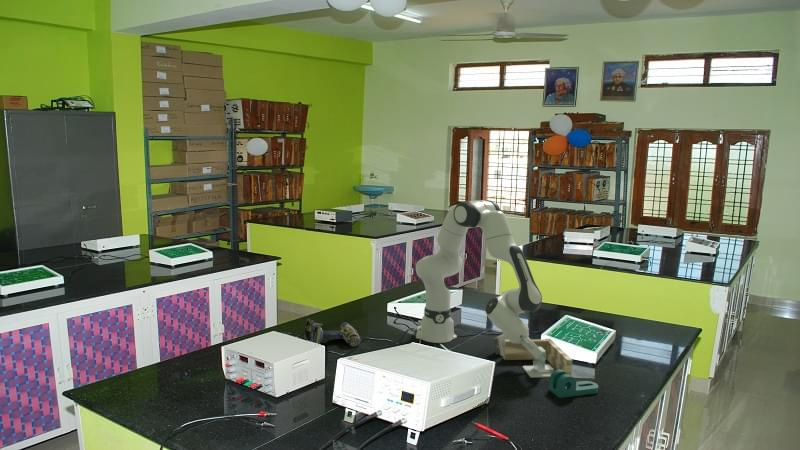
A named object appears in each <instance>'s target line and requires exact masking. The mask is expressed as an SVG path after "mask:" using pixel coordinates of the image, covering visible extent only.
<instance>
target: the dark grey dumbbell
mask: <svg viewBox="0 0 800 450" xmlns="http://www.w3.org/2000/svg"><path fill="white" fill-rule="evenodd" d="M321 326H323V324H322V323H317V322H315V321H314V320H312V319H310V318H307V319H306V322H305V325H304V328H303V330H304V333H303V334H304V340H305V339H306V340H309V341H312V342H315V343H319V344H321V342H322V340H324V339H325V340H340V339H341V340H344V341H345V342H346V343H347V344H348V345H349V347H354V348H355V347H357V346H358V345H360V343H361V337H360V335H359V333H358V330H357V329H355V328H354V327H353V326H352V325H350V324H349V323H348V322H346V321H345V322H342V323H341V324H340V330H323V329H322V327H321ZM306 340H305V341H306Z"/></svg>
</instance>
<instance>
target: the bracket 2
mask: <svg viewBox="0 0 800 450" xmlns="http://www.w3.org/2000/svg"><path fill="white" fill-rule="evenodd" d="M576 380H577V379H575V378H574V377H573V376H572V375H571V376H570V375H568V374H567V373H566V372H564V371H563V370H560V369H558V370H556V369H554V372H553V373H552V374H551V376H550V377H549V385H548V391H550V392H551V393H552V394H553V395H555V396H556V397H558V399H560V398H561V399H562V398H570V397H576V396H577V397H578V396H579V397H580V396H586V395H595V394H598V393H599V384H598V383H596V382H594V381H590V380H581V381H576Z"/></svg>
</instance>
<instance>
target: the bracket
mask: <svg viewBox="0 0 800 450" xmlns="http://www.w3.org/2000/svg"><path fill="white" fill-rule="evenodd" d="M538 348H539V349H540V350H541V351H542V352H543V356H544V358H546V351H545V350H544V349H543V348H542V347H538ZM532 366H533V369H534V370H535V372H536V373H553V372H554V371H555V368H554V367H553V366H552V365H551V364H550V363H549V364H546V360H545V361H544V362H542V361H541V360H540V359H539V358H538V359H536V358H534V357H533V360H532Z"/></svg>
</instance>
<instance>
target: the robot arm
mask: <svg viewBox="0 0 800 450" xmlns="http://www.w3.org/2000/svg"><path fill="white" fill-rule="evenodd" d="M469 228H480V229H481V230H482V232H483V235H484V241H485V246H486V249H487V252H488V253H489V255H490V256H491V257H493V258H494V259H496V260H499V261H503V262H506V263H508V264H509V265H511V267H512V269H513V271H514V274H515V278H516V280H517V282H518V287H517V288H511V289H508V290H505V291H503V292H502V293H501V294H500V295H499V296H496V297H493V298H491V299H490V300H489V301H488V302H487V304H486V305H485V309H484V310H485V314H486V316H487V317H488V319H489V321H490V322H491V323H493V325H494V326H495V327H496V328H497V329H500V330H501V333H502V334H504V335H505V336H506V337H507V338H508V339H509V340H510V341H511V342H512V343H517V344H522V345H523V346H524V347H525V348H526V349H527V350H528V351H529V352H530V353H531V354H532V355H533V357H534V358H536V359H538V358H539V359H540V360H541V361H542V362H544V361H545V362H546V360H547V359H545V358H544V356H543V352H542V351H541V350H540V349H539V348H538V347H537V346H536V345H535V343H534V342H533V341H532V340H533V339H531V338H530V337H529V336H530V332H529V331H530V330H529V326H527V323H525V322H524V321H523V320H522V319H521V318H520V317H519V315H520V314H522V313H523V314H524V313H534V312H537V311H538V310H539V309H540V307H541V305H542V301H543V297H542V293H541V291H540V289H539V287H538V285H537V283H536V281H535V279H534V276H533V274H532V271H531V269H530V266H529V263H528V261H527V258H526V256H525V254H524V251H523V250H522V249H521V247H519V246H518V245H517V243H516V241H515V239H514V237H513V231H512V228H511V225H510V222H509V220H508V218H507V216H506V214H505V213H504V212H503V211H501V208H500V206H499V204H498V203H497V202H495V201H494V200H489V199H487V200H483V199H475V200H465V201H461V202H459V203H457V204H455V205H453V206H451V208H450V209H449V210H448V212H447V214H446V216H445V217H444V219H443V222H442V224H441V227H440V229H439V233H438V235H437V237H436V241H437V244H438V245H439V251H438V252H437V253H436V254H431V255H426V256H424V257H423V258H421V259H419V260H418V261H417V262H416V264H415V272H416V275H417V277H418V278H419V279H420V280H421V281H422V282H423V285H424V290H425V307H424V310H423V316H422V319H421V320H418V323H417V324H418V326H417V327H416V328H417V329H416V334H415V339H418V340H423V341H424V342H426V343H427V342H428V343H436V344H444V343H449V342H451V341H452V340H455V339H457V337H458V335H457V334H455V331H454V329H455V327H454V323H455V322H454V320H453V318H452V317H451V316H452V315H451V314H452V309H451V297H452V296H451V295H452V294H451V291H450V289H449V288H448V287H446V285H445V278H449V277H452V276H455V275H456V274H458V273H460V272H461V270H462V269H463V265H464V263H463V262H464V261H463V258H462V257H461V249H462V246H463V244H464V243H463V242H464V240H465V238H466V235H467V233H468V230H469Z"/></svg>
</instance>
